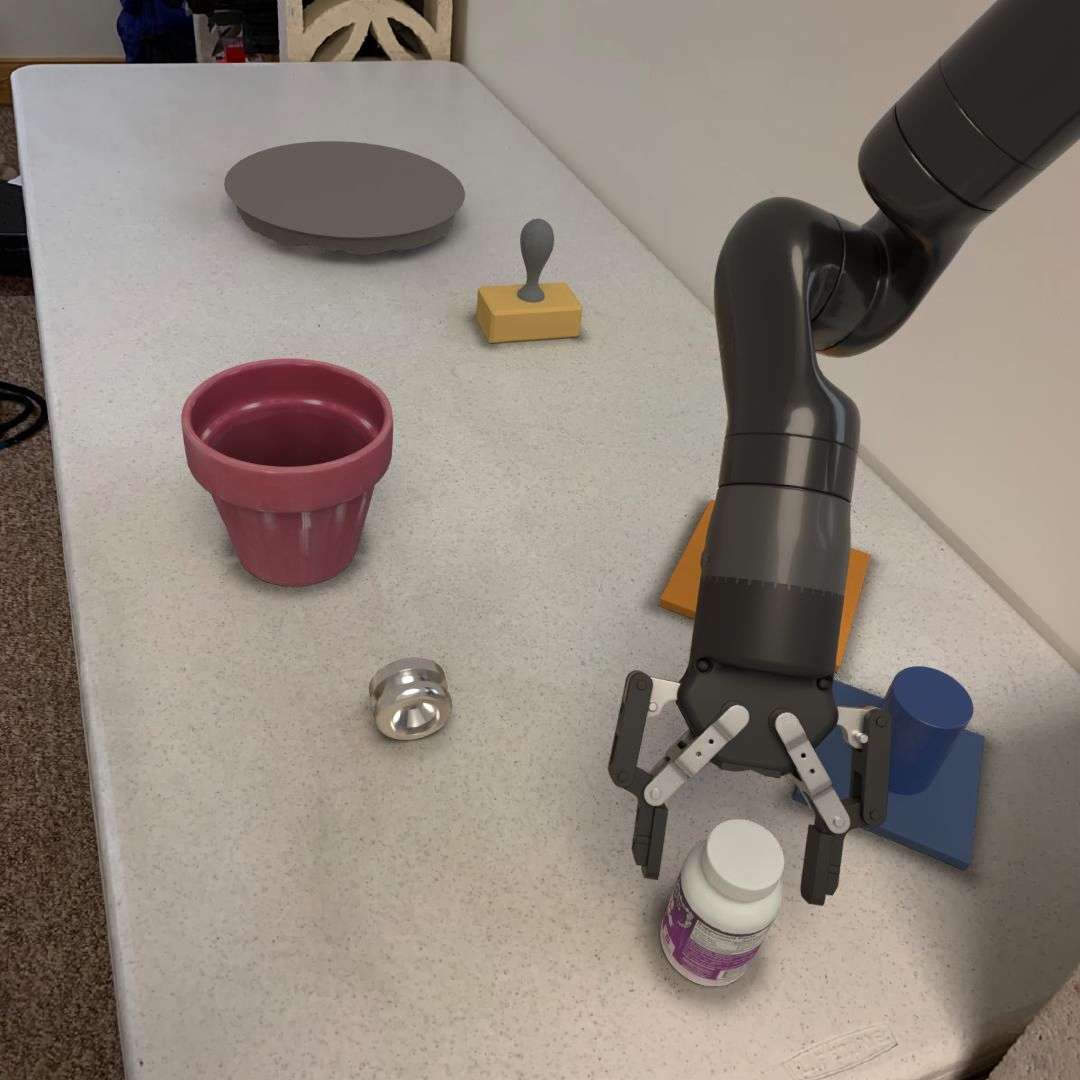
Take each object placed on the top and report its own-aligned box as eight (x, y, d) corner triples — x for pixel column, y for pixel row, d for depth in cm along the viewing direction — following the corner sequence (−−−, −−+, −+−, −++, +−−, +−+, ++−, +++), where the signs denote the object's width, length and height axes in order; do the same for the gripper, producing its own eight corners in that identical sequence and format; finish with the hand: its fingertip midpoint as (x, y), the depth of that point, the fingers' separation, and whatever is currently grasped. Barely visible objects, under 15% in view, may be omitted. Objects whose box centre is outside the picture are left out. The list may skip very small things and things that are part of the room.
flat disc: (229, 276, 107) (224, 237, 104) (226, 173, 127) (223, 138, 124) (482, 273, 114) (485, 237, 111) (443, 176, 134) (444, 143, 131)
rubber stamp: (561, 311, 110) (576, 206, 102) (579, 338, 106) (595, 231, 98) (474, 317, 107) (482, 209, 99) (489, 345, 103) (499, 235, 95)
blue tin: (936, 750, 67) (977, 683, 63) (927, 807, 64) (970, 740, 59) (863, 722, 69) (898, 654, 64) (851, 776, 65) (887, 708, 60)
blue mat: (980, 743, 69) (984, 736, 69) (965, 871, 62) (970, 864, 61) (826, 684, 72) (829, 677, 71) (793, 800, 64) (796, 792, 64)
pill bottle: (663, 889, 58) (697, 794, 52) (753, 911, 58) (799, 818, 52) (652, 977, 54) (688, 886, 48) (748, 1002, 54) (798, 913, 48)
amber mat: (868, 561, 83) (871, 554, 82) (836, 673, 73) (840, 666, 72) (708, 505, 86) (710, 498, 86) (658, 605, 76) (660, 598, 76)
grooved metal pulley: (443, 702, 67) (446, 652, 64) (452, 737, 65) (456, 688, 62) (368, 713, 66) (368, 663, 62) (375, 749, 64) (375, 699, 60)
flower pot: (382, 484, 84) (383, 352, 75) (401, 603, 74) (404, 465, 65) (204, 493, 80) (184, 356, 72) (198, 618, 70) (174, 476, 62)
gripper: (647, 557, 49) (600, 888, 48) (933, 600, 49) (892, 933, 48) (632, 563, 57) (591, 850, 55) (880, 601, 56) (843, 889, 55)
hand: (730, 888), depth 52 cm, fingers open, 8 cm apart
